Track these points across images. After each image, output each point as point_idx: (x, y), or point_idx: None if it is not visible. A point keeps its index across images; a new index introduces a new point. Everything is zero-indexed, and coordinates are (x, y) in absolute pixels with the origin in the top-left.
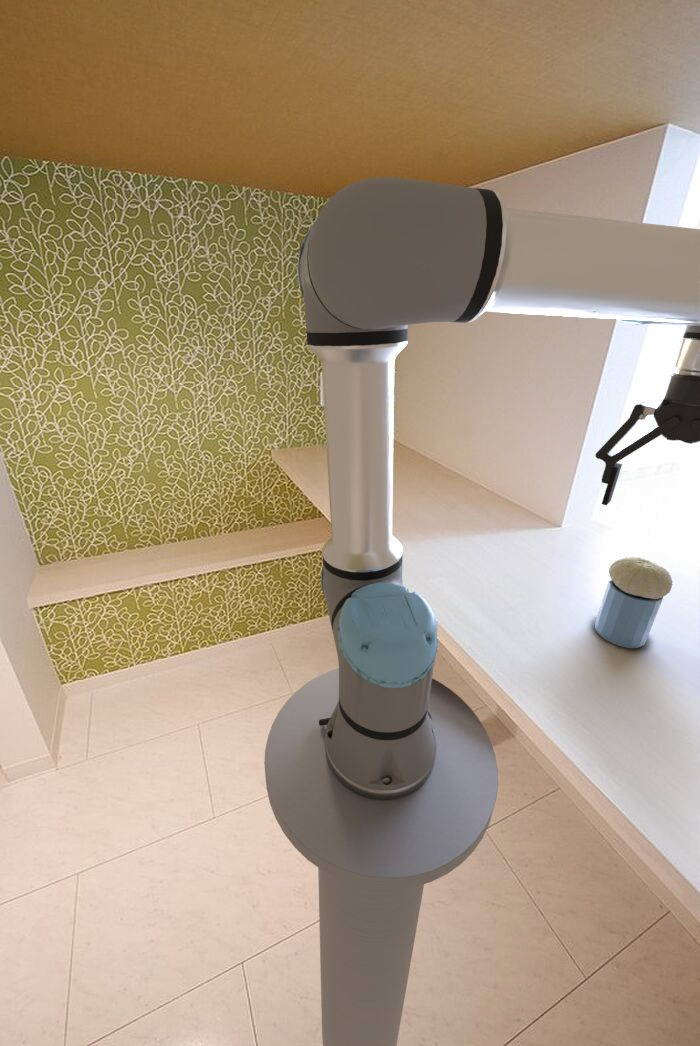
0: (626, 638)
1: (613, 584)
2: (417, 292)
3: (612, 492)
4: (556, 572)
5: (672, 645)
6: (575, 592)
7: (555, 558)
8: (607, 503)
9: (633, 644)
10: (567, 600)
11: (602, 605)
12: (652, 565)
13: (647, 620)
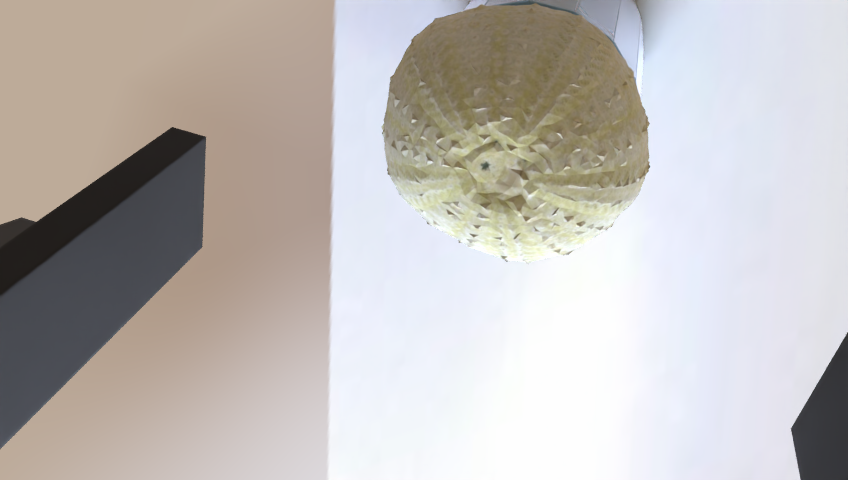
0: None
1: None
2: None
3: (823, 463)
4: (774, 361)
5: (386, 57)
6: (704, 247)
7: (771, 458)
8: (844, 348)
9: None
10: (742, 176)
11: (640, 59)
12: (465, 169)
13: (472, 2)
